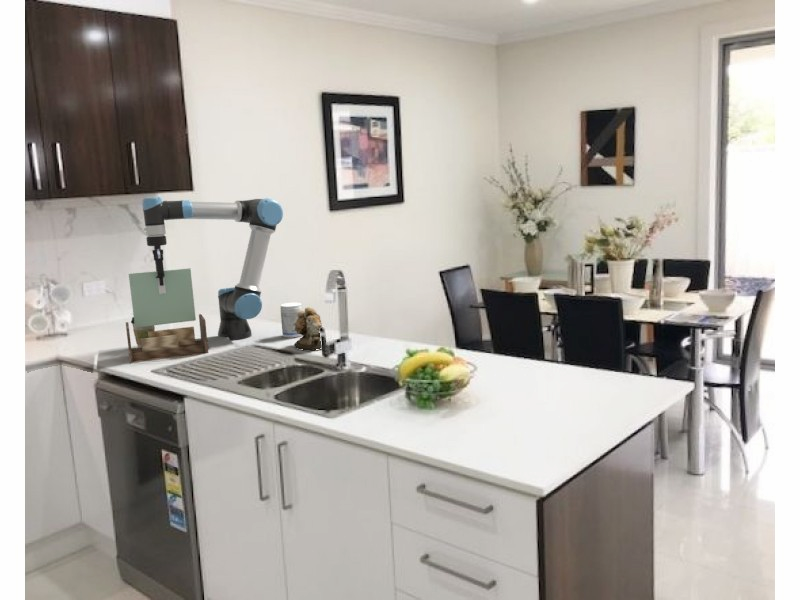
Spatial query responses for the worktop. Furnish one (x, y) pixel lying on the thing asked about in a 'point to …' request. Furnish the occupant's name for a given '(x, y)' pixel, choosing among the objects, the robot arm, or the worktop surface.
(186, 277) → the sheet
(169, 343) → the offcut birch
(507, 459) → the worktop surface
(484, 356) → the worktop surface
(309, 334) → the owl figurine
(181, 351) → the rack
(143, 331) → the coffee cup
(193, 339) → the offcut oak
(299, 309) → the supplement tub
